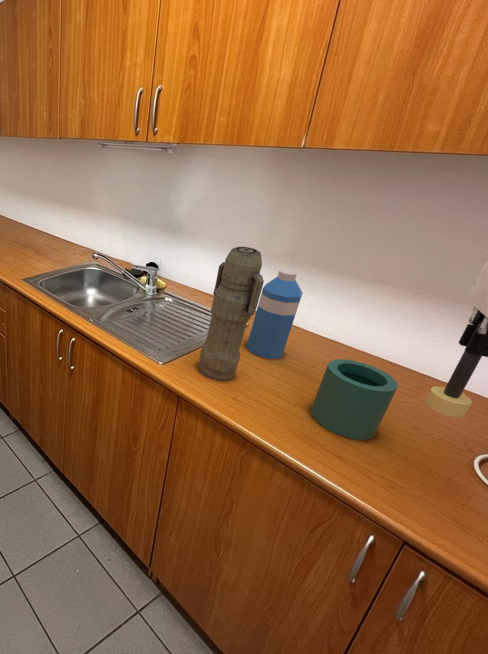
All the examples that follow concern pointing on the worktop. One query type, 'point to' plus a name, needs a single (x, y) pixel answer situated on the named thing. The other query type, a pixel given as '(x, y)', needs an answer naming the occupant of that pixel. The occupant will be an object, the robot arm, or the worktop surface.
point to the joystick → (454, 388)
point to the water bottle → (275, 315)
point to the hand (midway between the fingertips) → (475, 349)
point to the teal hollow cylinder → (353, 398)
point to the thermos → (231, 312)
